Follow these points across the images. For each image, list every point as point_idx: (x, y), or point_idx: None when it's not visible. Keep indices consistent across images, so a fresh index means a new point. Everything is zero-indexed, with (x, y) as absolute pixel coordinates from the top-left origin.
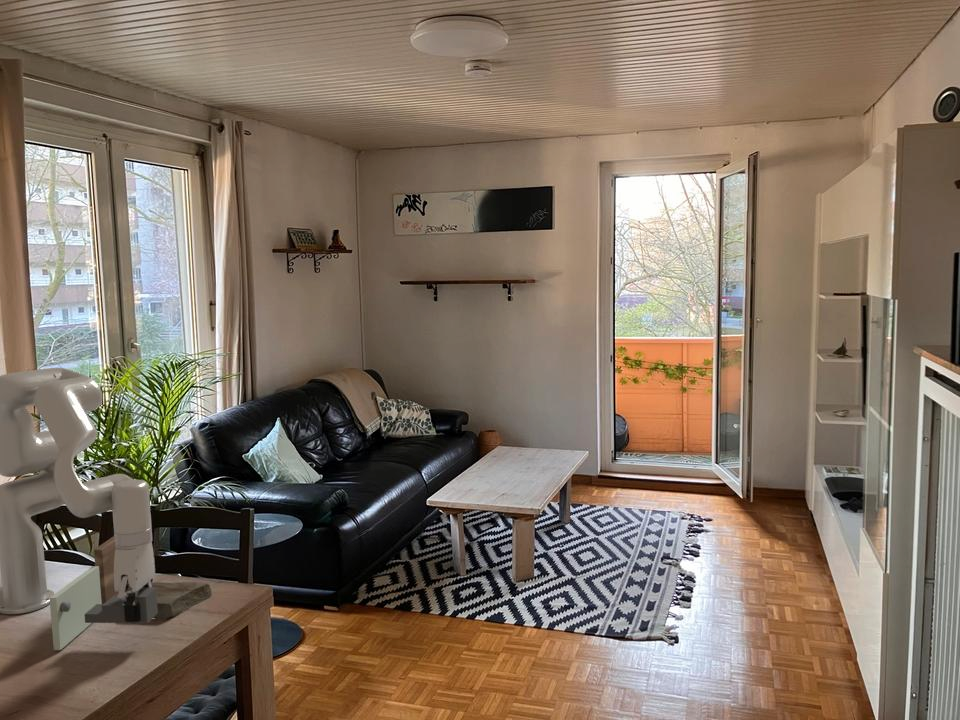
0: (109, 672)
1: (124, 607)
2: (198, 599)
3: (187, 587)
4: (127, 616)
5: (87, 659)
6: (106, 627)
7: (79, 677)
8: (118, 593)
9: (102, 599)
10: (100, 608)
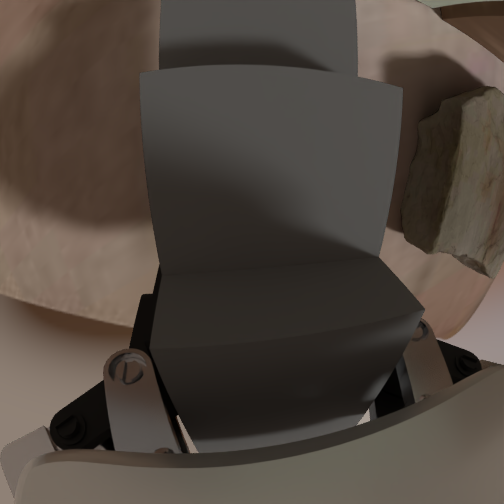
0: (47, 222)
1: (147, 323)
2: (462, 259)
3: (497, 242)
4: (140, 306)
5: (98, 86)
6: (361, 30)
7: (9, 152)
8: (8, 484)
9: (473, 6)
10: (276, 11)
